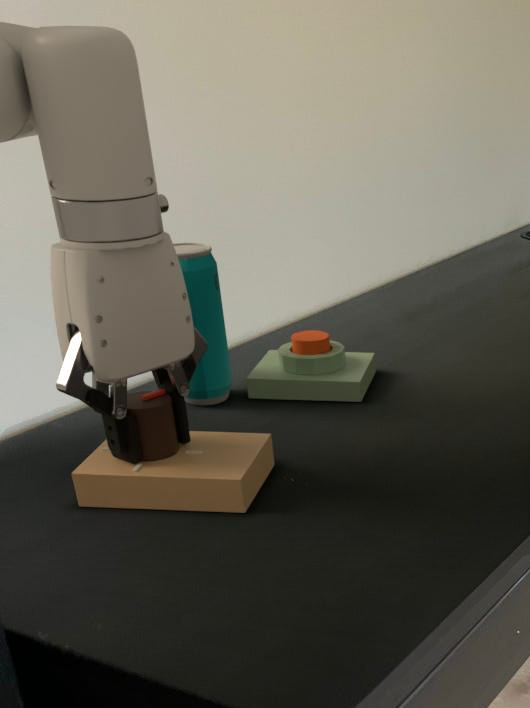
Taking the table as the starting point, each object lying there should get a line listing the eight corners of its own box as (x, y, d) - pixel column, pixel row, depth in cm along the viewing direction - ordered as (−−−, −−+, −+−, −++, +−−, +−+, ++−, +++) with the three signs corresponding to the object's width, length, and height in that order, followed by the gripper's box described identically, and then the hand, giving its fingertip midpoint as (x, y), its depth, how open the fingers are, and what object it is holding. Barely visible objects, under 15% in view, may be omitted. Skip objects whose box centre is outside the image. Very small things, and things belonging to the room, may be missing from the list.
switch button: (289, 357, 104) (287, 340, 103) (297, 345, 108) (295, 329, 107) (326, 358, 104) (325, 341, 103) (333, 346, 107) (332, 330, 106)
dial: (149, 465, 81) (139, 409, 79) (114, 453, 83) (103, 398, 81) (190, 448, 84) (181, 394, 82) (155, 437, 86) (145, 383, 84)
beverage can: (231, 387, 107) (211, 240, 99) (237, 404, 102) (217, 252, 94) (176, 392, 105) (152, 243, 97) (180, 410, 101) (155, 256, 93)
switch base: (248, 398, 104) (243, 361, 102) (271, 368, 112) (267, 333, 110) (361, 402, 103) (358, 364, 101) (376, 372, 112) (374, 336, 109)
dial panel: (78, 506, 82) (70, 471, 80) (123, 459, 90) (116, 426, 88) (245, 513, 81) (240, 477, 79) (274, 464, 89) (271, 431, 88)
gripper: (164, 199, 81) (197, 412, 91) (-23, 232, 70) (38, 472, 80) (228, 209, 78) (255, 429, 88) (42, 245, 66) (98, 494, 76)
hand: (151, 447), depth 84 cm, fingers closed on dial, 4 cm apart
